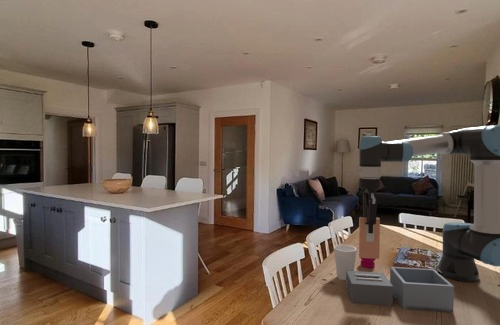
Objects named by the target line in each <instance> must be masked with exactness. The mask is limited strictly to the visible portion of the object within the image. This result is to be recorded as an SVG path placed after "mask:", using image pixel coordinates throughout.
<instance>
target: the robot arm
mask: <svg viewBox="0 0 500 325" xmlns="http://www.w3.org/2000/svg"><path fill="white" fill-rule="evenodd" d="M358 146H359V148H358V149H359V152H358V153H359V156H358V158H359V159H358V160H359V164H358V166H359V168H358V169H357V172H358V174H359V179H358V181H359V182H358V188H360V189H361V190H364V192H363V193H362V195H361V196H362V210H363V211H362V213H363V215H362V217H367V223H365V224H366V242H374V224H376V218H377V212H378V210H377V209H378V201H379V199H378V198H377V197H378V196H377V193H376V190H380V189H381V187H382V186H381V185H382V180H381V177H382V163H385V162H386V163H392V162H393V163H403V162H405V163H406V162H409V161H411V160H412V158H413V157H416V156H427V155H434V154H441V155H443V156H446V155H460V156H461V155H462V156H469V161H470V162H471V163H473V166H474V170H473V171H474V172H473V173H474V177H473V178H474V179H473V180H474V181H473V190H474V191H473V223H469V222H446V223H444V224H443V228H442V229H443V230H442V255H441V258H440V259H439V262H438V263H437V264H438V265H437V270H438V269H439V270H440V271H441V272H442V274H443V275H442V277H444V278H448V279H451V280H454V281H459V282H467V283H470V282H471V283H473V282H478V281H479V279H480V273H479V270H478V267H477V264H476V261H478V262H481V263H483V264H485V265H489V266H493V267H500V124H495V125H494V124H490V125H482V126H473V127H472V126H471V127H465V128H460V129H457V130H451V131H446V132H441V133H439V134H438V135H431V136H423V137H422V136H421V137H415V138H406V139H405V138H404V139H399V140H398V139H397V140H390V141H382V137H381V136H379V135H378V136H377V135H373V136H372V135H370V136H369V135H368V136H362V137H361V138H360V139H359V145H358Z"/></svg>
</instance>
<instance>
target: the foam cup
mask: <svg viewBox="0 0 500 325" xmlns="http://www.w3.org/2000/svg"><path fill="white" fill-rule="evenodd" d="M357 250H358V249H357V247H355V246H354V245H349V244H336V245H334V246H333V254H334V260H335V267H336V268H335V269H336V275H337V277H338V278H339V279H338V278H337V277H336V278H337V279H338V280H340V279H341V281H344V280H345V282H346V271H355V265H356V264H355V263H356V258H357V255H358V254H357V252H358V251H357Z"/></svg>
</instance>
